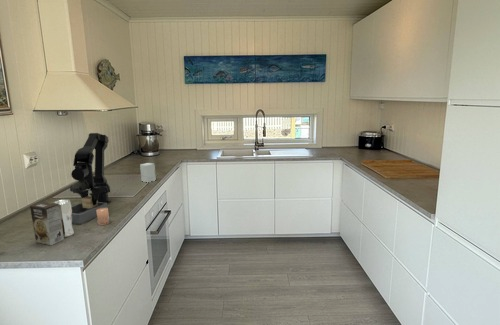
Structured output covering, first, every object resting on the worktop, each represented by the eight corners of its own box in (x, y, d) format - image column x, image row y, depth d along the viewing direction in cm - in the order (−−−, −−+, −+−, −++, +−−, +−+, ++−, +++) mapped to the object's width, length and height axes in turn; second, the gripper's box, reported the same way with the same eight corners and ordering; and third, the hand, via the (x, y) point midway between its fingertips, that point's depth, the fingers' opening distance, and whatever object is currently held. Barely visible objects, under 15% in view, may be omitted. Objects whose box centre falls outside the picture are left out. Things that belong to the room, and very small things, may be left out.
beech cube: (90, 204, 166) (89, 195, 165) (98, 205, 164) (96, 196, 163) (82, 207, 161) (81, 198, 160) (90, 208, 160) (89, 199, 159)
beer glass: (55, 239, 134) (50, 205, 131) (58, 232, 141) (53, 200, 138) (74, 236, 137) (69, 203, 134) (76, 230, 143) (71, 198, 140)
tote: (87, 209, 170) (86, 200, 169) (108, 212, 165) (107, 203, 164) (58, 221, 154) (57, 211, 153) (80, 224, 149) (79, 214, 148)
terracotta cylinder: (103, 220, 154) (101, 207, 152) (111, 221, 152) (110, 208, 151) (95, 224, 149) (93, 210, 148) (103, 225, 148) (102, 211, 146)
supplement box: (156, 180, 227) (154, 163, 224) (147, 183, 221) (146, 165, 218) (149, 179, 231) (148, 162, 229) (141, 181, 225) (139, 164, 223)
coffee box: (35, 242, 131) (28, 205, 128) (49, 236, 137) (44, 200, 134) (50, 245, 128) (44, 208, 125) (64, 239, 134) (59, 203, 131)
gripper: (58, 177, 155) (63, 208, 158) (88, 180, 149) (92, 211, 152) (77, 172, 165) (81, 201, 169) (106, 175, 159) (109, 204, 163)
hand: (90, 204), depth 163 cm, fingers closed on beech cube, 5 cm apart
